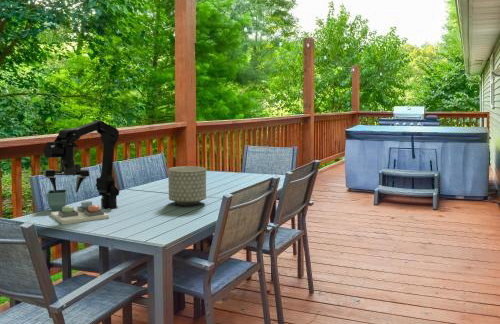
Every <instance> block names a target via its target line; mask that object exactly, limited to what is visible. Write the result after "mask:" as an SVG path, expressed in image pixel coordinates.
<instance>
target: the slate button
mask: <svg viewBox="0 0 500 324" xmlns="http://www.w3.org/2000/svg"><path fill="white" fill-rule="evenodd" d="M80 203H81V205H80V206H81V208H82V209H86V208H88V206H91V205H93V201H90V200H88V201H82V202H80Z"/></svg>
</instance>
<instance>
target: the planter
mask: <svg viewBox="0 0 500 324" xmlns="http://www.w3.org/2000/svg"><path fill="white" fill-rule="evenodd" d="M167 172H168V175H167V177H168V180H167V181H168V199H169V200H170V201H172V202H174V203H175V204H178V205H180V206H194V205H196V204H199V203H200V202H201V201H203V200H206V199H207V167H206V168H205V167H203V166H196V165H195V166H193V165H191V166H190V165H185V166H183V165H182V166H173V167H169V168H168V171H167Z"/></svg>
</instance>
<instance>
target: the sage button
mask: <svg viewBox="0 0 500 324" xmlns="http://www.w3.org/2000/svg"><path fill="white" fill-rule="evenodd" d="M74 207H75V206H73V205H65V206H64V207H62V210H61V211H62V213H64V214H66V213H73V212H74Z"/></svg>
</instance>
